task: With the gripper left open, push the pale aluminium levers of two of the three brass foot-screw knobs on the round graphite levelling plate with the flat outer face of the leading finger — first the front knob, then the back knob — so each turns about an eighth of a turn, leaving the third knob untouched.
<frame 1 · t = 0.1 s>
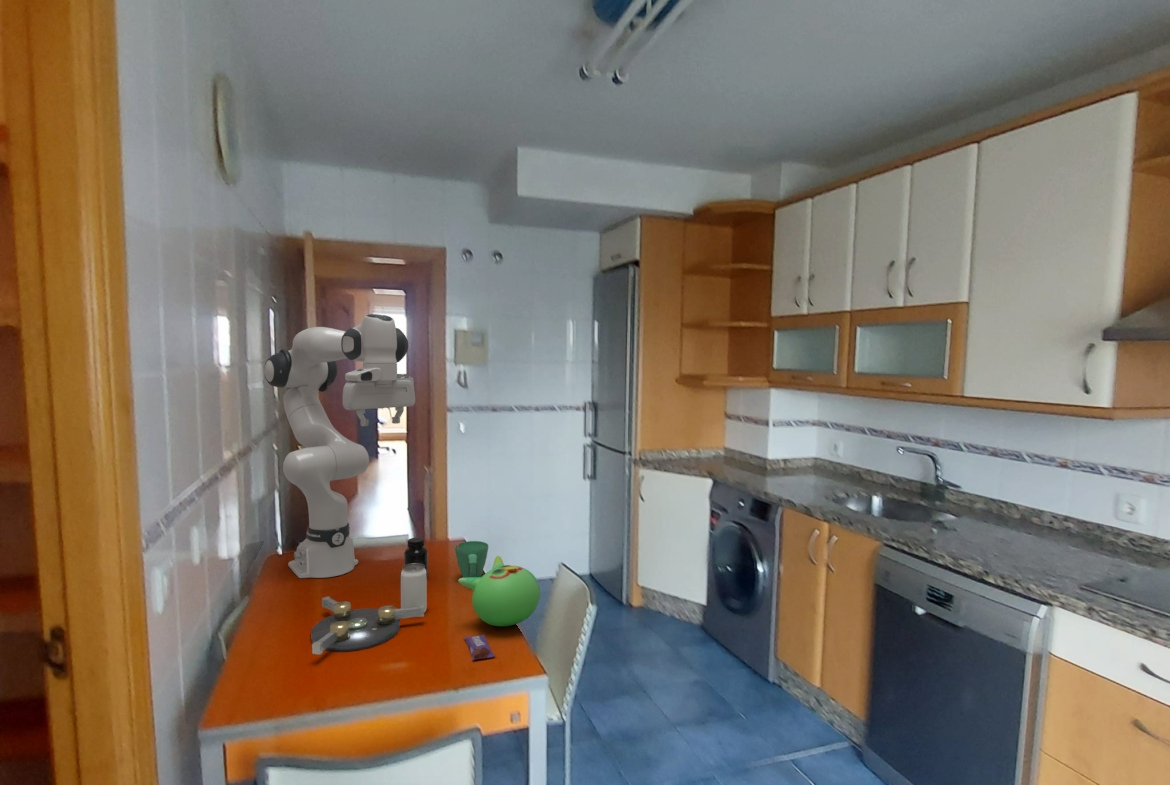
hand: (380, 424, 168), 48 cm above the table, fingers open, 8 cm apart
back knob: (335, 606, 156), point 3 cm above the table, hinge at 0.0°
supplement bottle: (416, 579, 185), on the table
mug: (472, 582, 183), on the table
can: (413, 612, 161), on the table
front knob: (330, 637, 139), point 3 cm above the table, hinge at 0.0°
levelling plate: (356, 631, 149), on the table
snack package: (478, 651, 141), on the table
toy bird: (504, 622, 156), on the table
left knob: (401, 613, 152), point 3 cm above the table, hinge at 0.0°
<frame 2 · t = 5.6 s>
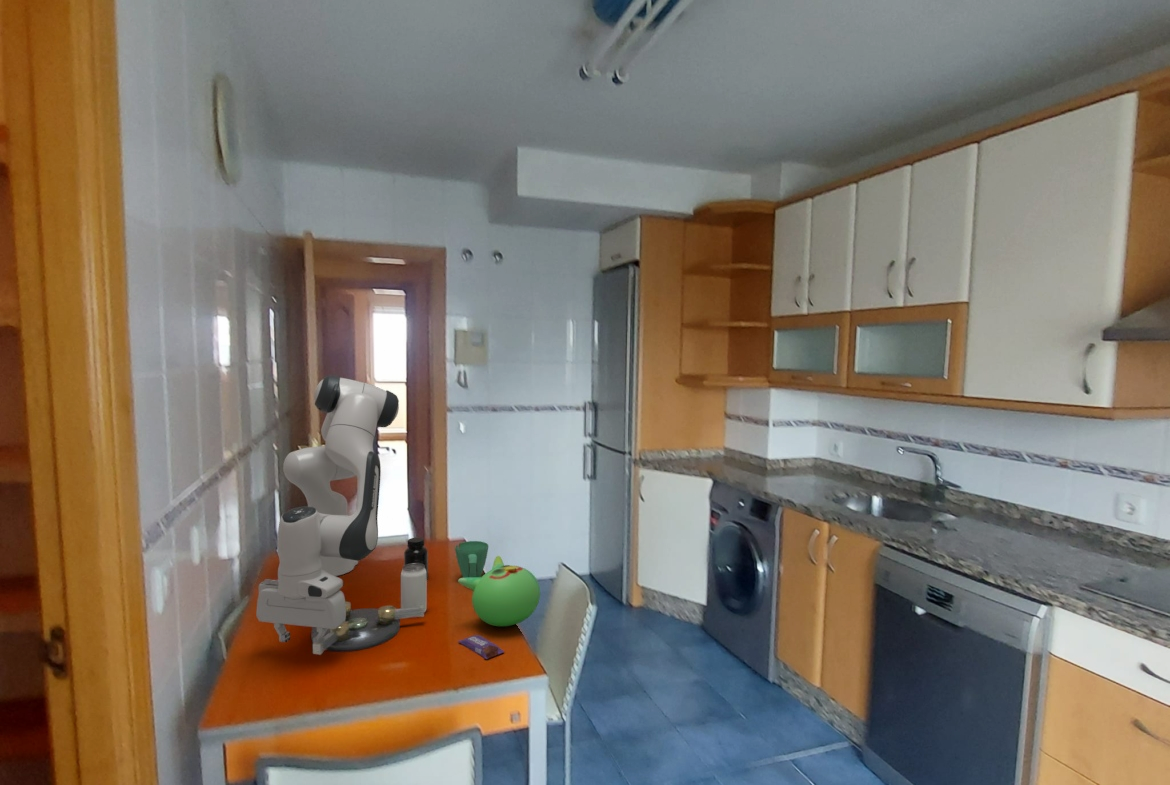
hand: (301, 643, 137), 3 cm above the table, fingers open, 7 cm apart
front knob: (331, 637, 139), point 3 cm above the table, hinge at 1.0°, touching gripper
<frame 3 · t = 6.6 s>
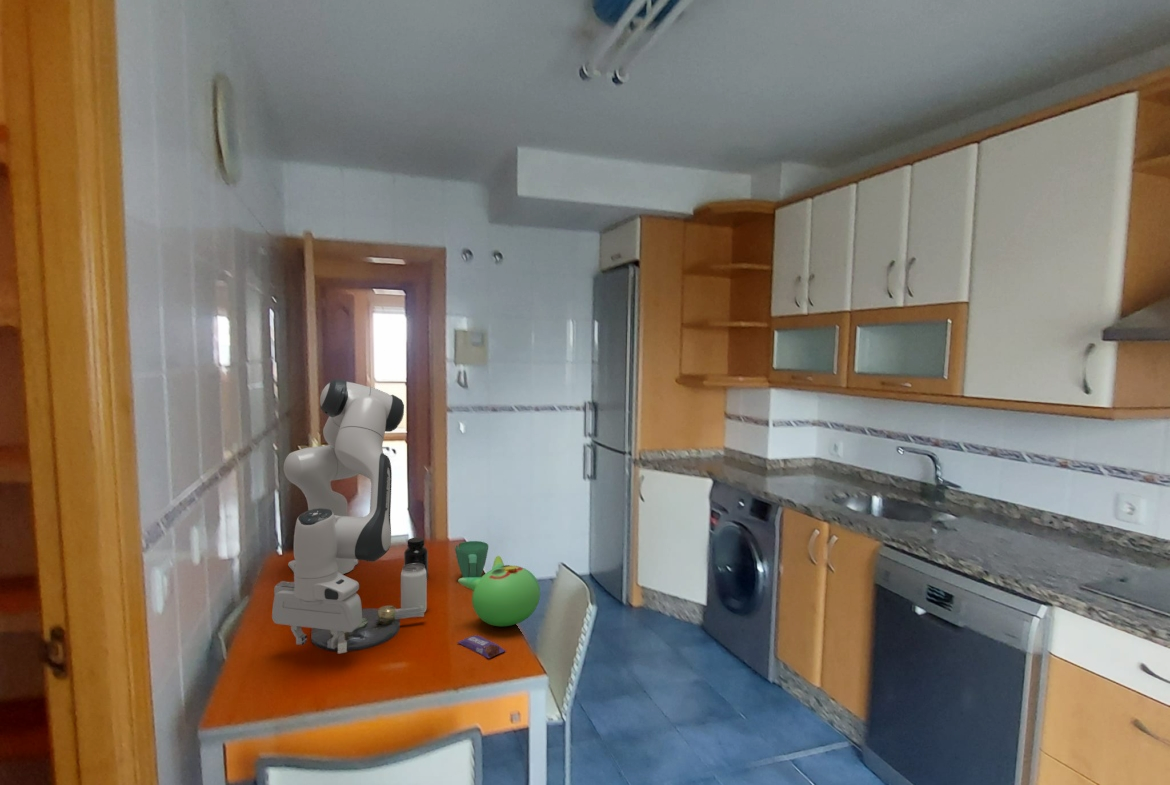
hand: (317, 645, 136), 3 cm above the table, fingers open, 6 cm apart
front knob: (340, 637, 139), point 3 cm above the table, hinge at 36.3°, touching gripper
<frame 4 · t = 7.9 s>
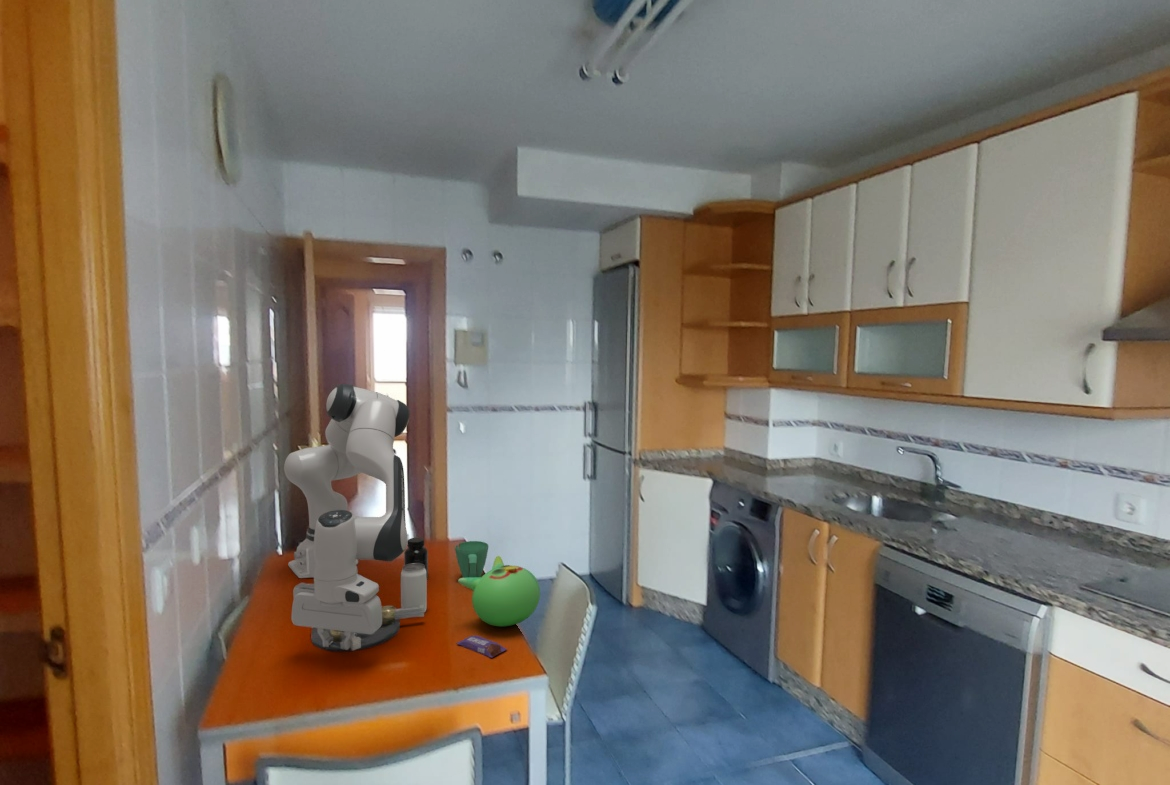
hand: (336, 647, 136), 3 cm above the table, fingers open, 3 cm apart
front knob: (346, 635, 139), point 3 cm above the table, hinge at 56.3°, touching gripper
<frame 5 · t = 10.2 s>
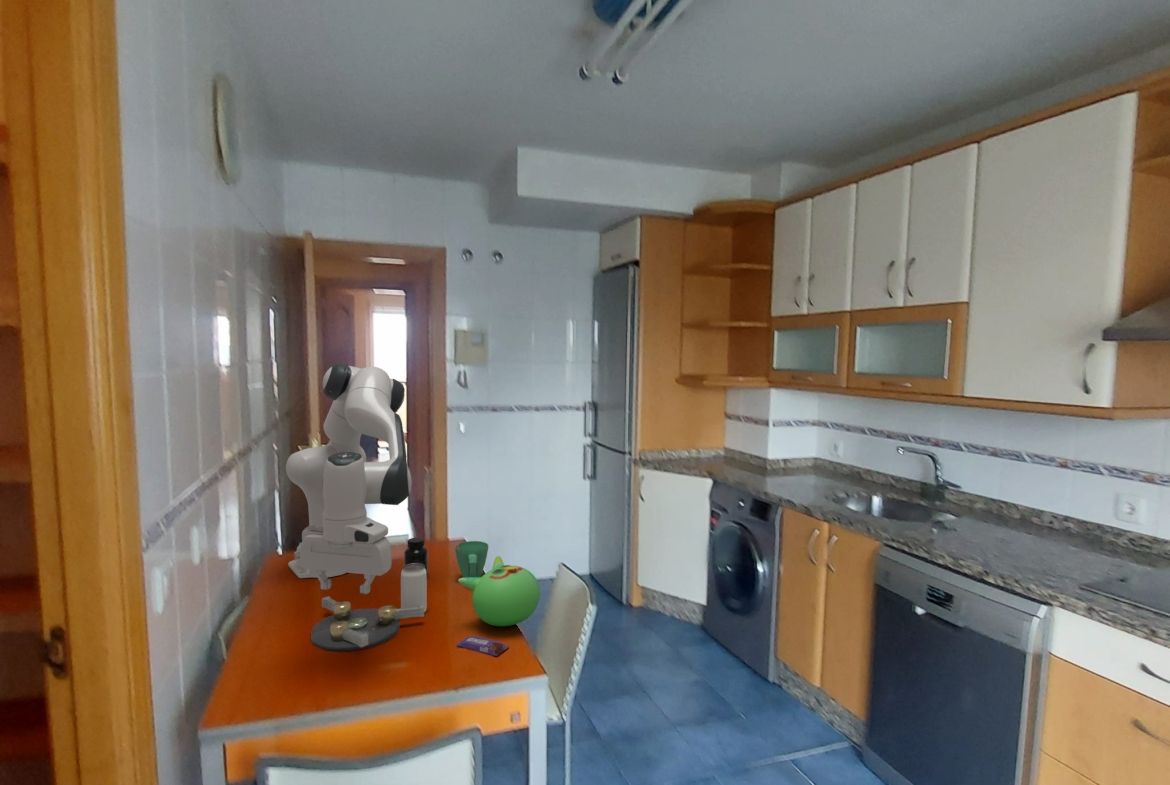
hand: (345, 590, 134), 16 cm above the table, fingers open, 8 cm apart
front knob: (349, 634, 140), point 3 cm above the table, hinge at 69.3°
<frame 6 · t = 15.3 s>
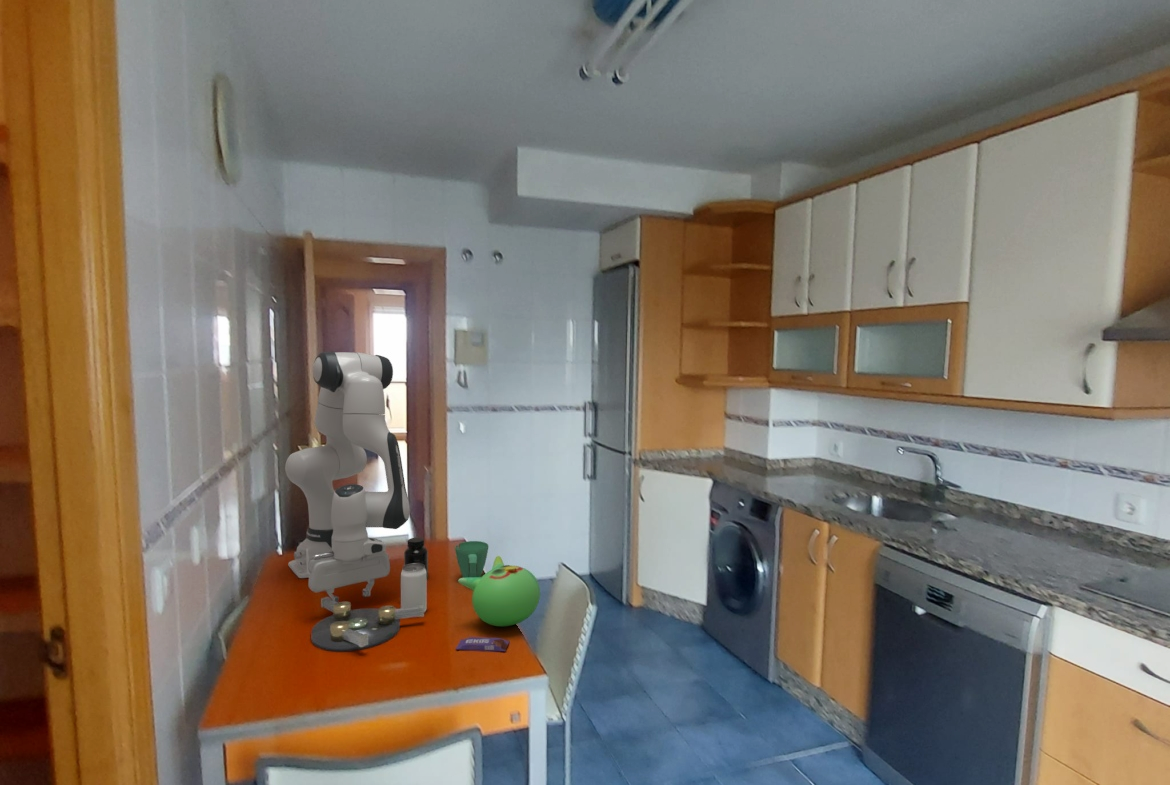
hand: (350, 600, 161), 3 cm above the table, fingers open, 7 cm apart
back knob: (335, 606, 155), point 3 cm above the table, hinge at 1.6°, touching gripper
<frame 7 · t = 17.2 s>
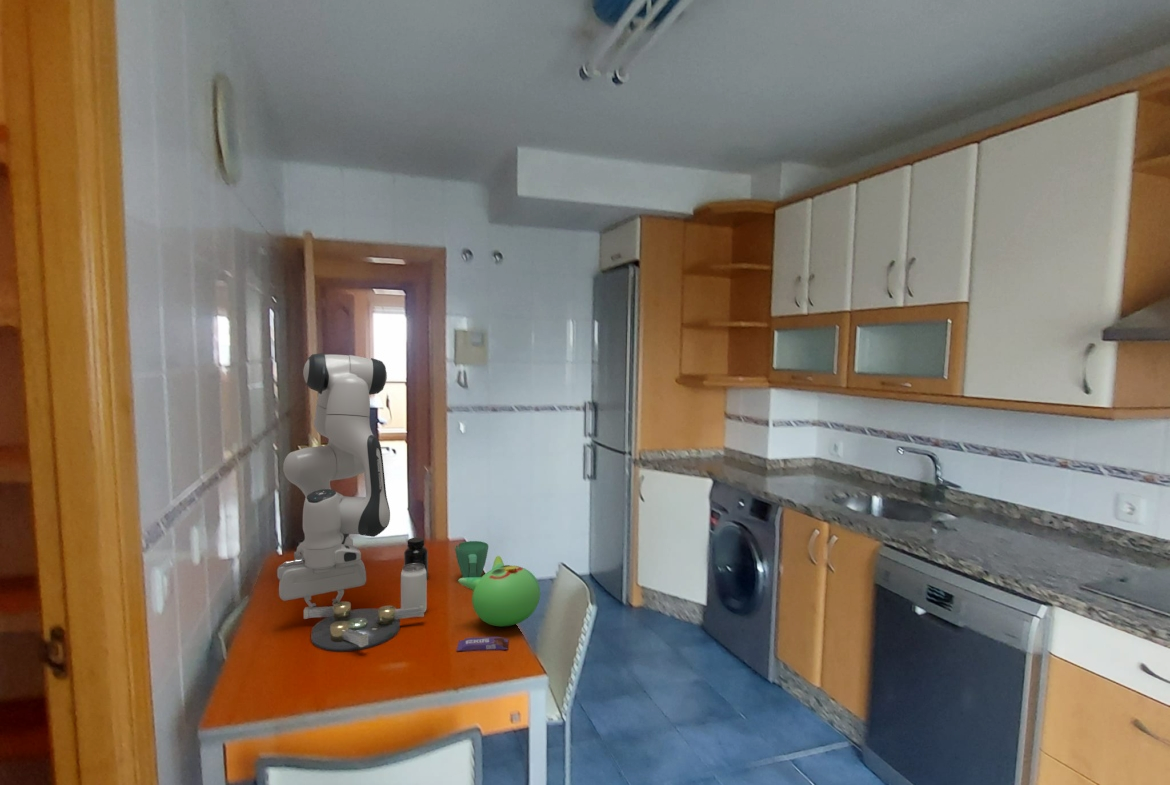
hand: (324, 609, 155), 3 cm above the table, fingers open, 4 cm apart
back knob: (327, 611, 153), point 3 cm above the table, hinge at 50.7°, touching gripper
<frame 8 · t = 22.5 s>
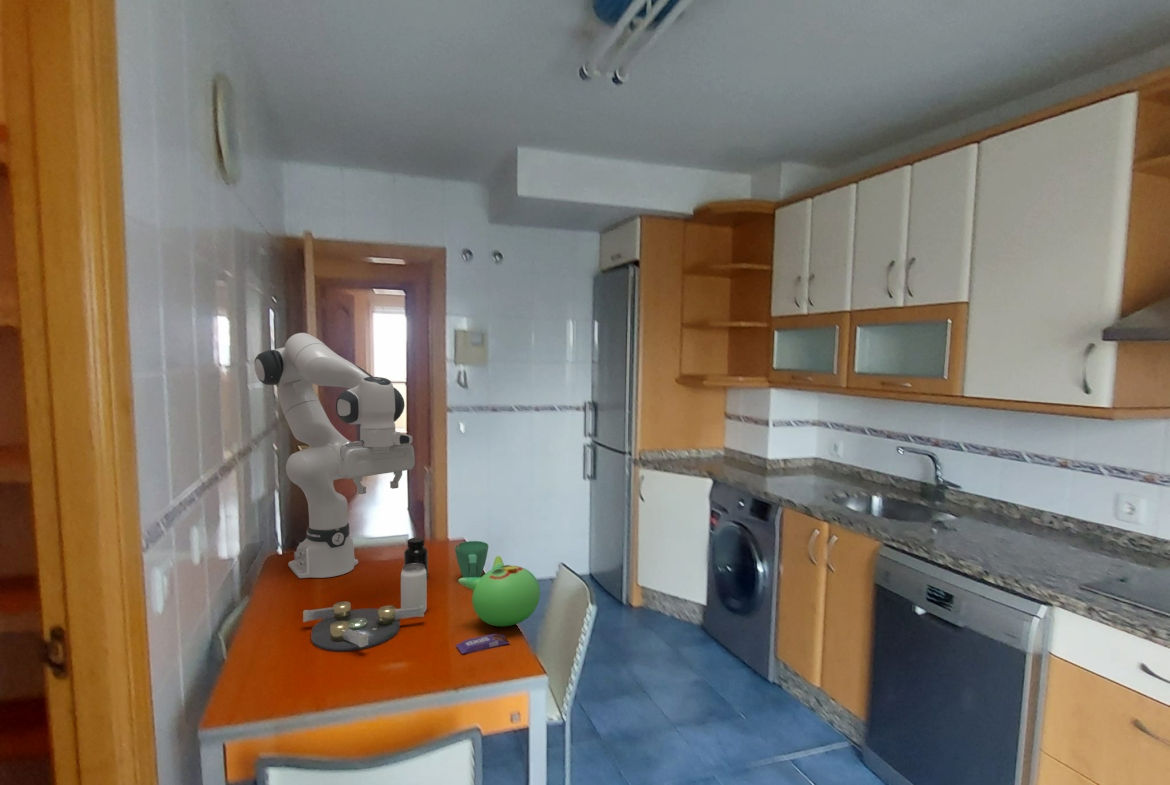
hand: (378, 490, 163), 31 cm above the table, fingers open, 8 cm apart
back knob: (327, 612, 152), point 3 cm above the table, hinge at 63.5°
at the end: front knob at +69° (first picture: +0°); back knob at +64° (first picture: +0°); left knob at +0° (first picture: +0°) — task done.
